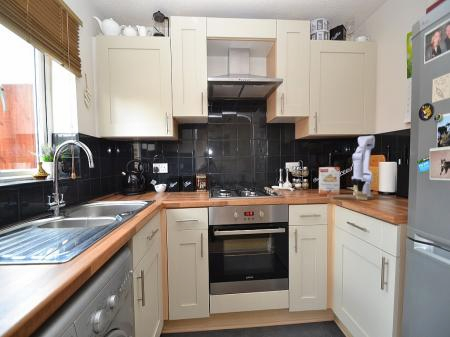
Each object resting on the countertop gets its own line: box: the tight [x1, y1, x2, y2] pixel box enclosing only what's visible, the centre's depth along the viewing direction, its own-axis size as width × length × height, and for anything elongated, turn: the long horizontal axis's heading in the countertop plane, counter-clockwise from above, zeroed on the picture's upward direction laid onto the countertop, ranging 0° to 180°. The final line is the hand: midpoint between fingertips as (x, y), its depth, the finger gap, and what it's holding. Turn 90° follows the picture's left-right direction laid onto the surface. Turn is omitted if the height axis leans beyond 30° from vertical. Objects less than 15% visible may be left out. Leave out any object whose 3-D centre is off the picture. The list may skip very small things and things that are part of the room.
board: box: [326, 194, 373, 201], centre depth 150 cm, size 12×24×2 cm, turn 84°
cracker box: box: [318, 166, 341, 195], centre depth 169 cm, size 14×6×21 cm, turn 76°
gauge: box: [352, 185, 368, 201], centre depth 146 cm, size 9×6×8 cm, turn 174°
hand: (358, 190), depth 146 cm, fingers closed on gauge, 4 cm apart
